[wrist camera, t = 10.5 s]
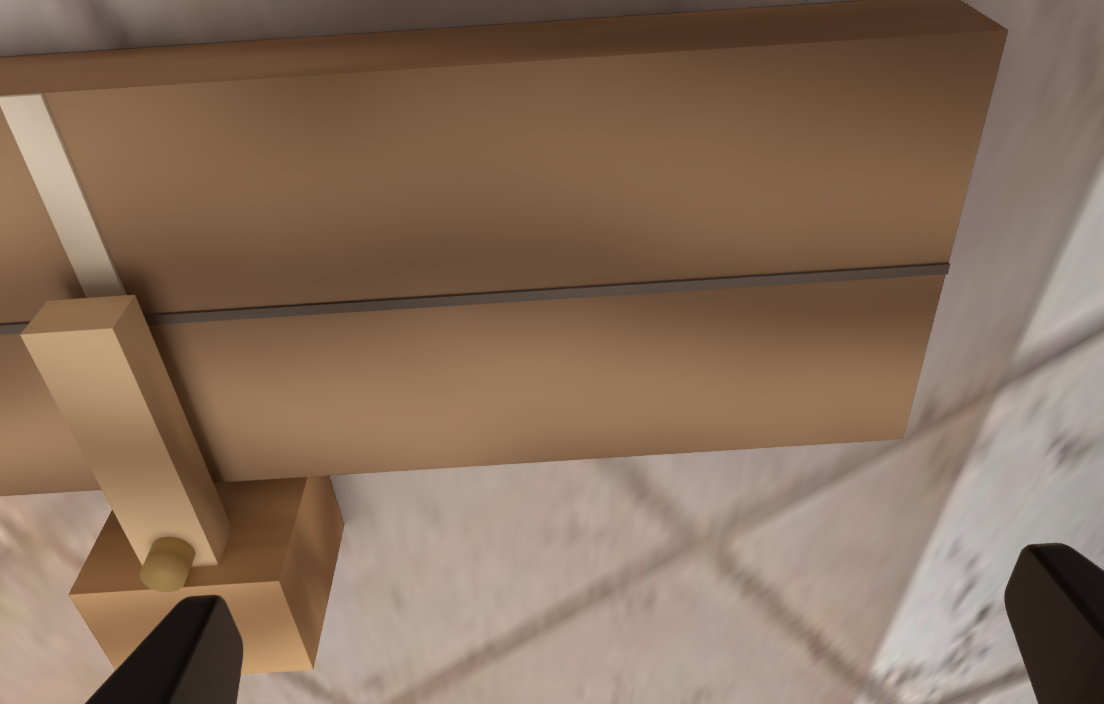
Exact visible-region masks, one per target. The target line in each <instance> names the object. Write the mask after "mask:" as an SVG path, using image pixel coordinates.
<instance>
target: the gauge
mask: <svg viewBox="0 0 1104 704" xmlns="http://www.w3.org/2000/svg"><path fill="white" fill-rule="evenodd" d="M20 336H21V338H22V339H23V341H24V343H25V345H26V347H27V349H28V351H29V353H30V355H31V356H32V358H33V360H34V362H35V364H36V366H37V368H38V370H39V372H40V373H41V375H42V377H43V379H44V381H45V383H46V385H47V387H48V389H49V390H50V392H51V394H52V396H53V398H54V400H55V402H56V404H57V406H58V407H59V409H60V411H61V413H62V415H63V417H64V419H65V421H66V423H67V425H68V426H69V428H70V430H71V432H72V434H73V436H74V438H75V440H76V442H77V443H78V445H79V447H80V449H81V451H82V453H83V455H84V457H85V459H86V460H87V462H88V464H89V466H90V468H91V470H92V472H93V474H94V476H95V477H96V479H97V481H98V483H99V485H100V487H101V489H102V491H103V493H104V494H105V496H106V498H107V500H108V502H109V504H110V506H111V508H112V511H111V513H110V515H109V517H108V519H107V521H106V523H105V525H104V527H103V529H102V530H101V532H100V534H99V536H98V538H97V540H96V542H95V544H94V546H93V548H92V550H91V552H90V554H89V556H88V558H87V560H86V562H85V564H84V566H83V567H82V569H81V571H80V573H79V575H78V577H77V579H76V581H75V583H74V585H73V587H72V589H71V591H70V593H69V597H70V598H71V600H72V601H73V603H74V605H75V606H76V608H77V609H78V611H79V613H80V614H81V616H82V617H83V619H84V621H85V622H86V624H87V625H88V627H89V629H90V630H91V632H92V633H93V635H94V637H95V638H96V640H97V641H98V643H99V644H100V646H101V648H102V649H103V651H104V652H105V654H106V656H107V657H108V659H109V660H110V662H111V664H112V665H113V667H114V668H115V670H116V669H117V668H118V667H119V666H120V665H121V664H122V663H123V662H124V661H125V659H126V658H127V657H128V656H129V655H130V654H131V653H132V652H133V651H134V650H135V649H136V648H137V646H138V645H139V644H140V643H141V642H142V641H143V640H144V639H145V638H146V637H147V636H148V634H149V633H150V632H151V631H152V630H153V629H154V628H155V627H156V626H157V625H158V624H159V623H160V621H161V620H162V619H163V618H164V617H165V616H166V615H167V614H168V613H169V612H170V611H171V609H172V608H173V607H174V606H175V605H176V604H177V603H178V602H179V601H181V600H182V599H184V598H186V597H189V596H200V595H220V596H221V597H222V598H224V600H225V601H226V603H227V605H228V607H229V610H230V612H231V614H232V616H233V619H234V621H235V623H236V625H237V628H238V630H239V632H240V634H241V637H242V641H243V662H242V669H241V674H254V673H269V672H285V671H300V670H313V669H314V664H315V659H316V655H317V650H318V645H319V641H320V636H321V631H322V627H323V622H324V617H325V613H326V608H327V603H328V599H329V594H330V589H331V585H332V580H333V576H334V571H335V566H336V562H337V557H338V552H339V548H340V543H341V538H342V534H343V529H344V523H343V520H342V516H341V513H340V510H339V506H338V503H337V500H336V496H335V493H334V490H333V486H332V483H331V480H330V476H329V475H327V476H311V477H296V478H280V479H264V480H248V481H232V482H217V483H213V481H212V479H211V476H210V474H209V472H208V469H207V467H206V464H205V462H204V460H203V457H202V455H201V452H200V450H199V448H198V445H197V443H196V440H195V438H194V436H193V433H192V431H191V428H190V426H189V424H188V421H187V419H186V416H185V414H184V412H183V409H182V407H181V404H180V402H179V400H178V397H177V395H176V392H175V390H174V387H173V385H172V383H171V380H170V378H169V375H168V373H167V371H166V368H165V366H164V363H163V361H162V359H161V356H160V354H159V351H158V349H157V347H156V344H155V342H154V339H153V337H152V335H151V332H150V330H149V327H148V325H147V323H146V320H145V318H144V315H143V313H142V311H141V308H140V306H139V303H138V301H137V299H136V296H135V295H124V296H109V297H95V298H80V299H66V300H51V301H47V302H46V303H45V304H44V306H43V307H42V308H41V309H40V311H39V312H38V313H37V314H36V315H35V317H34V318H33V319H32V320H31V322H30V323H29V324H28V325H27V327H26V328H25V329H24V330H23V331H22V333H21V334H20Z"/></svg>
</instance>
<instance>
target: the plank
mask: <svg viewBox="0 0 1104 704" xmlns="http://www.w3.org/2000/svg"><path fill="white" fill-rule="evenodd" d="M1007 33H1008V30H1007V29H1006V28H1004V27H1003V26H1001V25H999V24H998V23H996V22H995V21H993V20H991V19H990V18H988V17H986V16H985V15H983V14H982V13H980V12H978V11H977V10H975V9H974V8H972V7H970V6H969V5H967V4H966V3H964V2H962V1H961V0H865V1H850V2H834V3H819V4H804V5H789V6H773V7H758V8H743V9H727V10H712V11H697V12H682V13H666V14H651V15H636V16H621V17H605V18H590V19H575V20H559V21H544V22H529V23H514V24H498V25H483V26H468V27H453V28H437V29H422V30H407V31H391V32H376V33H361V34H346V35H330V36H315V37H300V38H285V39H269V40H254V41H239V42H223V43H208V44H193V45H178V46H162V47H147V48H132V49H117V50H101V51H86V52H71V53H55V54H40V55H25V56H10V57H0V496H11V495H27V494H43V493H59V492H74V491H90V490H102V489H101V487H100V485H99V483H98V481H97V479H96V477H95V476H94V474H93V472H92V470H91V468H90V466H89V464H88V462H87V460H86V459H85V457H84V455H83V453H82V451H81V449H80V447H79V445H78V443H77V442H76V440H75V438H74V436H73V434H72V432H71V430H70V428H69V426H68V425H67V423H66V421H65V419H64V417H63V415H62V413H61V411H60V409H59V407H58V406H57V404H56V402H55V400H54V398H53V396H52V394H51V392H50V390H49V389H48V387H47V385H46V383H45V381H44V379H43V377H42V375H41V373H40V372H39V370H38V368H37V366H36V364H35V362H34V360H33V358H32V356H31V355H30V353H29V351H28V349H27V347H26V345H25V343H24V341H23V339H22V338H21V336H20V334H21V333H22V331H23V330H24V329H25V328H26V327H27V325H28V324H29V323H30V322H31V320H32V319H33V318H34V317H35V315H36V314H37V313H38V312H39V311H40V309H41V308H42V307H43V306H44V304H45V303H46V302H47V301H51V300H66V299H80V298H95V297H109V296H124V295H135V296H136V299H137V301H138V303H139V306H140V308H141V311H142V313H143V315H144V318H145V320H146V323H147V325H148V327H149V330H150V332H151V335H152V337H153V339H154V342H155V344H156V347H157V349H158V351H159V354H160V356H161V359H162V361H163V363H164V366H165V368H166V371H167V373H168V375H169V378H170V380H171V383H172V385H173V387H174V390H175V392H176V395H177V397H178V400H179V402H180V404H181V407H182V409H183V412H184V414H185V416H186V419H187V421H188V424H189V426H190V428H191V431H192V433H193V436H194V438H195V440H196V443H197V445H198V448H199V450H200V452H201V455H202V457H203V460H204V462H205V464H206V467H207V469H208V472H209V474H210V476H211V479H212V481H213V483H217V482H232V481H248V480H264V479H280V478H296V477H311V476H327V475H343V474H359V473H375V472H390V471H406V470H422V469H438V468H454V467H469V466H485V465H501V464H517V463H533V462H548V461H564V460H580V459H596V458H612V457H627V456H643V455H659V454H675V453H691V452H706V451H722V450H738V449H754V448H770V447H785V446H801V445H817V444H833V443H848V442H864V441H880V440H896V439H903V438H904V434H905V430H906V426H907V422H908V418H909V414H910V411H911V407H912V403H913V399H914V395H915V391H916V387H917V383H918V379H919V376H920V372H921V368H922V364H923V360H924V356H925V352H926V348H927V344H928V341H929V337H930V333H931V329H932V325H933V321H934V317H935V313H936V309H937V306H938V302H939V298H940V294H941V290H942V286H943V282H944V278H945V274H948V270H949V267H950V264H949V259H950V255H951V251H952V247H953V243H954V239H955V235H956V232H957V228H958V224H959V220H960V216H961V212H962V208H963V204H964V200H965V197H966V193H967V189H968V185H969V181H970V177H971V173H972V169H973V165H974V161H975V158H976V154H977V150H978V146H979V142H980V138H981V134H982V130H983V126H984V123H985V119H986V115H987V111H988V107H989V103H990V99H991V95H992V91H993V88H994V84H995V80H996V76H997V72H998V68H999V64H1000V60H1001V56H1002V53H1003V49H1004V45H1005V41H1006V37H1007Z"/></svg>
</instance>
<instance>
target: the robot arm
mask: <svg viewBox="0 0 1104 704" xmlns="http://www.w3.org/2000/svg"><path fill="white" fill-rule="evenodd" d="M1004 599H1005V607H1006V611H1007V615H1008V618H1009V621H1010V623H1011V626H1012V629H1013V632H1014V635H1015V638H1016V641H1017V644H1018V647H1019V650H1020V652H1021V655H1022V658H1023V661H1024V664H1025V667H1026V670H1027V673H1028V676H1029V678H1030V681H1031V684H1032V687H1033V690H1034V693H1035V696H1036V699H1037V702H1038V704H1104V570H1102V569H1101V568H1099V567H1098V566H1097V565H1095V564H1094V563H1093V562H1091V561H1090V560H1088V559H1087V558H1086V557H1084V556H1083V555H1082V554H1080V553H1079V552H1077V551H1076V550H1075V549H1073V548H1071V547H1070V546H1068V545H1065V544H1062V543H1044V544H1031V545H1027V546H1026V547H1025V548H1023V549H1022V551H1021V553H1020V555H1019V557H1018V560H1017V562H1016V565H1015V567H1014V569H1013V572H1012V574H1011V577H1010V579H1009V582H1008V584H1007V586H1006V590H1005V596H1004ZM242 662H243V641H242V637H241V634H240V632H239V630H238V628H237V625H236V623H235V621H234V619H233V616H232V614H231V612H230V610H229V607H228V605H227V603H226V601H225V600H224V598H222V597H221V596H220V595H200V596H189V597H186V598H184V599H182V600H181V601H179V602H178V603H177V604H176V605H175V606H174V607H173V608H172V609H171V611H170V612H169V613H168V614H167V615H166V616H165V617H164V618H163V619H162V620H161V621H160V623H159V624H158V625H157V626H156V627H155V628H154V629H153V630H152V631H151V632H150V633H149V634H148V636H147V637H146V638H145V639H144V640H143V641H142V642H141V643H140V644H139V645H138V646H137V648H136V649H135V650H134V651H133V652H132V653H131V654H130V655H129V656H128V657H127V658H126V659H125V661H124V662H123V663H122V664H121V665H120V666H119V667H118V668H117V669H116V670H115V671H114V672H113V674H112V675H111V676H110V677H109V678H108V679H107V680H106V681H105V682H104V683H103V684H102V686H101V687H100V688H99V689H98V690H97V691H96V692H95V693H94V694H93V695H92V696H91V697H90V699H89V700H88V701H87V702H86V703H85V704H236V703H237V696H238V689H239V683H240V676H241V669H242Z"/></svg>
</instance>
